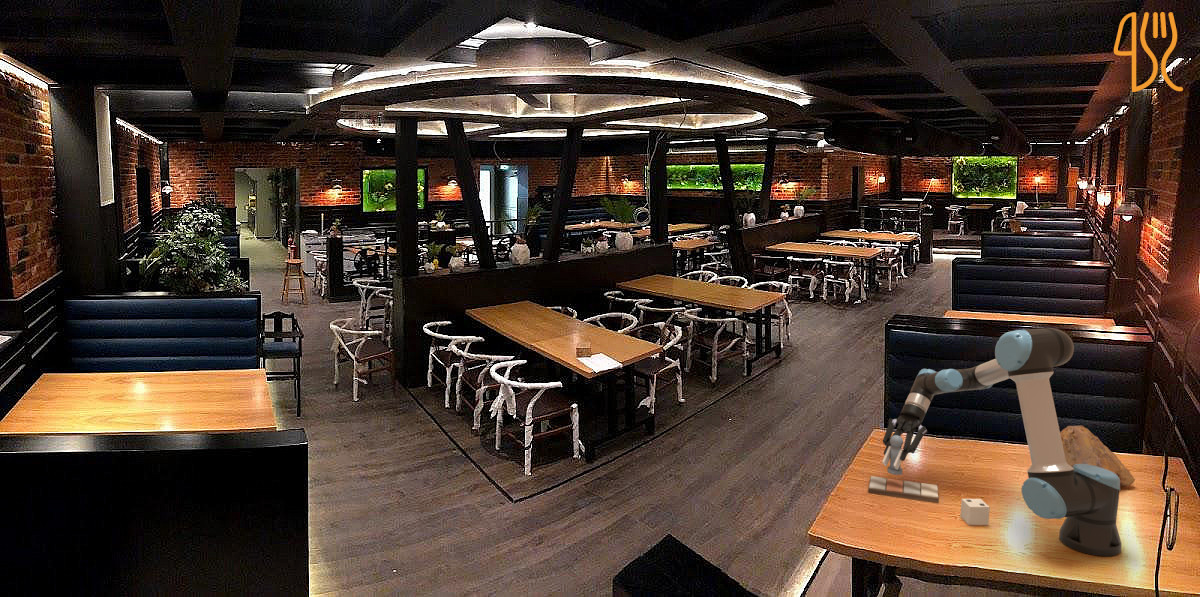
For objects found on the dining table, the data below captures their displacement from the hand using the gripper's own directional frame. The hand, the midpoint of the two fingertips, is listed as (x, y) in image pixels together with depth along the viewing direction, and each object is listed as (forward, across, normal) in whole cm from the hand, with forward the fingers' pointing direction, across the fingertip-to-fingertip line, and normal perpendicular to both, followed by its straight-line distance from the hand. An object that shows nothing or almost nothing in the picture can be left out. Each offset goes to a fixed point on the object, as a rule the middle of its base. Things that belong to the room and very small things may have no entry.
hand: (889, 465), depth 249 cm
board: (+3, -3, -10) cm, 11 cm away
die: (+7, -29, -6) cm, 30 cm away
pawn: (0, 0, -5) cm, 5 cm away
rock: (-40, -43, -55) cm, 80 cm away
